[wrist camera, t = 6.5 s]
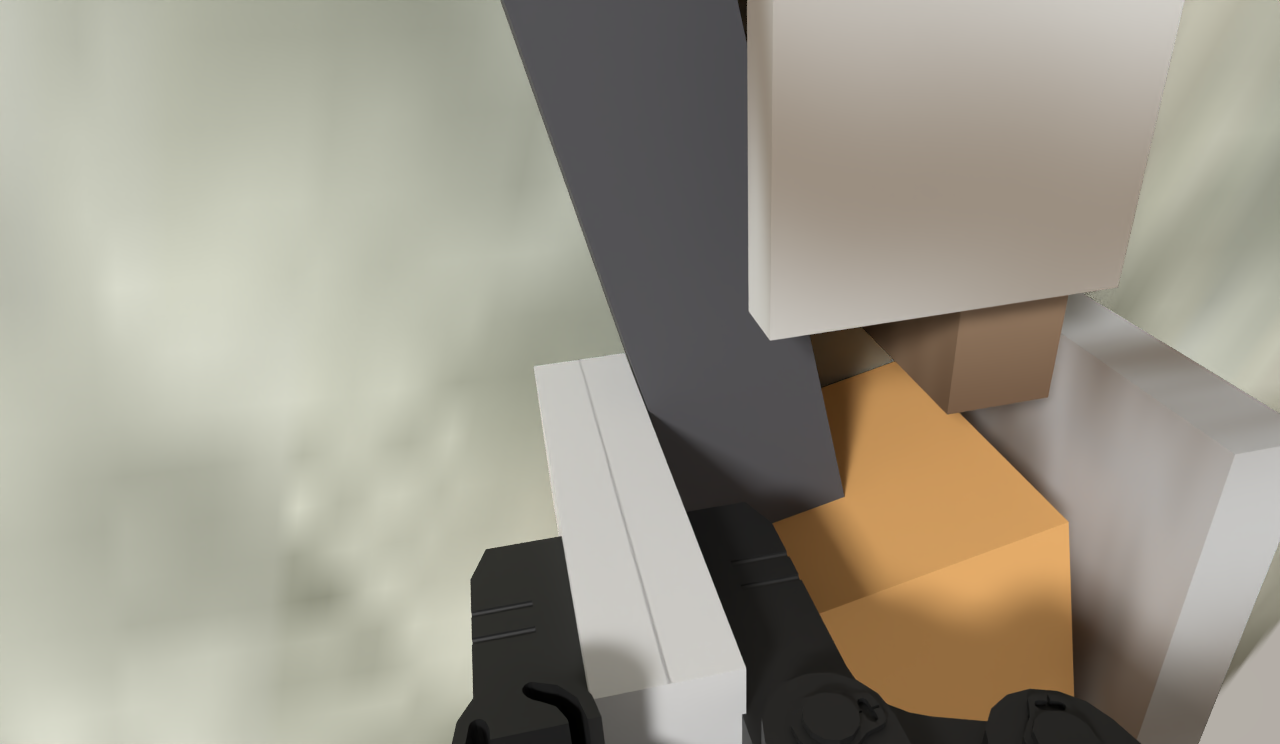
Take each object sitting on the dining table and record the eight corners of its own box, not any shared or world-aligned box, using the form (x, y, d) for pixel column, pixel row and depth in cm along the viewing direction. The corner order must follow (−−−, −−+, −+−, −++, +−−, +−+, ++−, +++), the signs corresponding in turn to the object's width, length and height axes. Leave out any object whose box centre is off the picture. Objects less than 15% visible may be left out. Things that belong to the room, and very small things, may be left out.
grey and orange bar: (296, -577, 9) (141, -1043, 4) (742, -726, 9) (1012, -1329, 5) (720, 620, 18) (800, 836, 14) (931, 542, 19) (1075, 733, 14)
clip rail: (609, -650, 9) (816, -1415, 4) (1193, -645, 10) (2002, -1255, 5) (689, 707, 20) (771, 992, 14) (966, 649, 21) (1136, 897, 15)
